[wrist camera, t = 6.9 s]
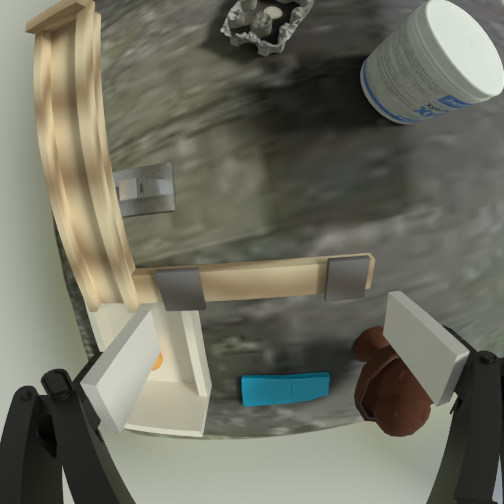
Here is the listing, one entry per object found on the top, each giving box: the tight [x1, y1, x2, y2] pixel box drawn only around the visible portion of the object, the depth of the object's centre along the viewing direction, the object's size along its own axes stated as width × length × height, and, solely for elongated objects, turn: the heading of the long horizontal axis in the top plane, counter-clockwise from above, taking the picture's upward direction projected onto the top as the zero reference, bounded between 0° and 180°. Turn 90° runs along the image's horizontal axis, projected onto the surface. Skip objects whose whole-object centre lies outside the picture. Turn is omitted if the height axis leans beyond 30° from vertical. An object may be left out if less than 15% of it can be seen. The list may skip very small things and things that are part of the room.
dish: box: [84, 300, 212, 437], centre depth 27 cm, size 17×13×9 cm
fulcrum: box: [112, 162, 177, 217], centre depth 24 cm, size 5×11×8 cm, turn 94°
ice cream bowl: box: [354, 326, 434, 437], centre depth 25 cm, size 11×11×15 cm
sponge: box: [241, 372, 330, 407], centre depth 33 cm, size 2×12×6 cm
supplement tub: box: [360, 0, 504, 124], centre depth 17 cm, size 10×10×15 cm
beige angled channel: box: [26, 0, 375, 313], centre depth 16 cm, size 28×26×4 cm
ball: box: [151, 352, 163, 371], centre depth 30 cm, size 3×3×3 cm
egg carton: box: [220, 0, 314, 57], centre depth 21 cm, size 11×8×4 cm
